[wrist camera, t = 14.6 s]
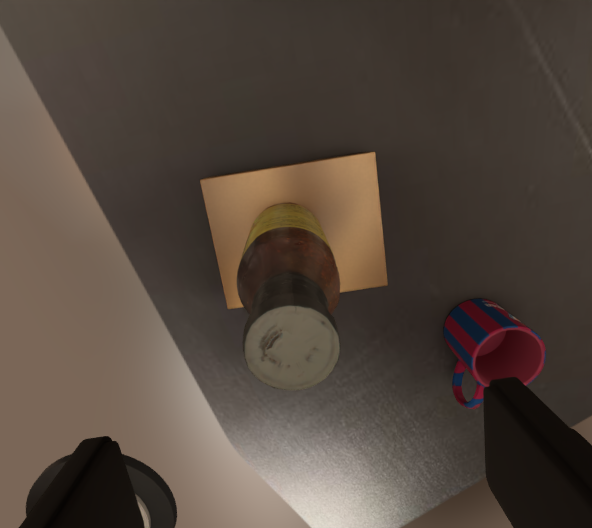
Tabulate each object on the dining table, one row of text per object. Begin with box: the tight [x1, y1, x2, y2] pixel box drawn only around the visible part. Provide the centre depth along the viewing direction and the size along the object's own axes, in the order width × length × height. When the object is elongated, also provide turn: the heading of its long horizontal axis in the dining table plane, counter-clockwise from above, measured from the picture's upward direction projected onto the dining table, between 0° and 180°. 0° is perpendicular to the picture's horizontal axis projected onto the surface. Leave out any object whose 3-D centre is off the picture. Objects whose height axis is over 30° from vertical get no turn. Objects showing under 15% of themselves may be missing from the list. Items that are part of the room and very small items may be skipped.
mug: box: [444, 299, 546, 409], centre depth 39 cm, size 7×10×7 cm
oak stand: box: [200, 152, 388, 309], centre depth 37 cm, size 15×12×4 cm
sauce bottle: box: [237, 202, 340, 390], centre depth 25 cm, size 6×6×20 cm
